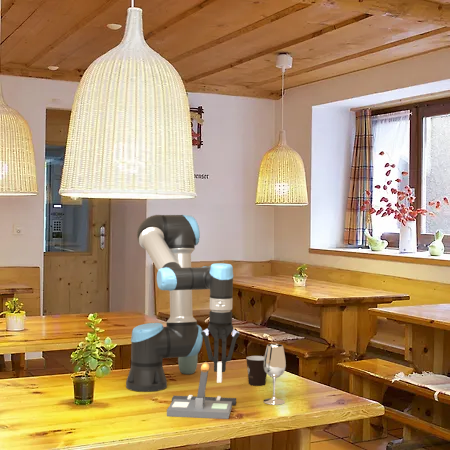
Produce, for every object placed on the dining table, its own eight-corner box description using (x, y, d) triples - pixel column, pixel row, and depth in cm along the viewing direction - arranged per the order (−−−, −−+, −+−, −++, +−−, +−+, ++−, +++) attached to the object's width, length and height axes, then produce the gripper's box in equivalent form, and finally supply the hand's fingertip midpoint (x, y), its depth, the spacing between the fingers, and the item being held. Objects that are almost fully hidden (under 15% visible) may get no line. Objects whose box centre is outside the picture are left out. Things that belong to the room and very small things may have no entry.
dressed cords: (171, 403, 259) (171, 397, 259) (173, 399, 264) (173, 394, 264) (235, 406, 257) (235, 400, 257) (236, 402, 262) (236, 396, 262)
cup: (195, 376, 301) (195, 351, 301) (176, 374, 302) (176, 350, 302) (198, 371, 309) (199, 347, 308) (180, 370, 310) (180, 346, 310)
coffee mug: (266, 387, 284) (267, 361, 284) (244, 385, 286) (244, 359, 286) (270, 380, 296) (271, 355, 295) (249, 379, 297) (249, 353, 297)
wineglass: (289, 402, 264) (290, 345, 263) (275, 406, 258) (277, 348, 257) (272, 398, 269) (273, 342, 268) (258, 402, 263) (259, 345, 262)
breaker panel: (166, 416, 243) (167, 400, 243) (173, 404, 257) (173, 389, 257) (228, 418, 242) (228, 402, 242) (231, 407, 256) (232, 392, 255)
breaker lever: (195, 402, 248) (201, 363, 247) (196, 399, 252) (202, 361, 251) (203, 404, 247) (209, 365, 247) (204, 400, 251) (210, 362, 251)
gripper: (199, 311, 245) (198, 383, 246) (239, 312, 244) (238, 385, 245) (202, 308, 252) (201, 378, 253) (241, 309, 251) (239, 379, 252)
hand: (219, 381), depth 249 cm, fingers closed
